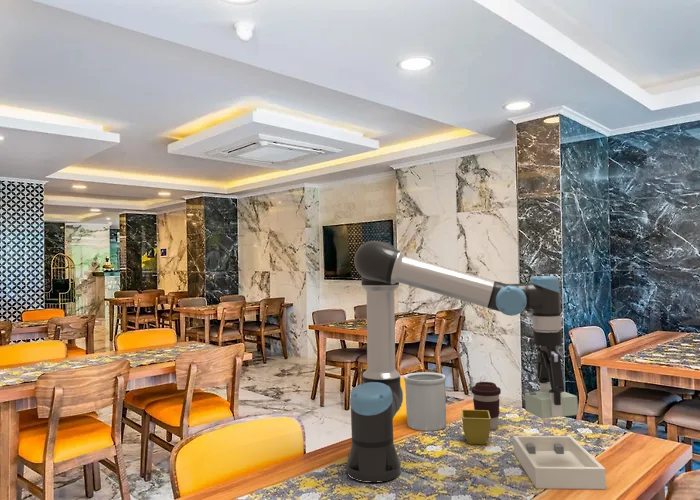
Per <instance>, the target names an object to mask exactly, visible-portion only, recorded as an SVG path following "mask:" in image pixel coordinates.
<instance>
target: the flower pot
mask: <svg viewBox="0 0 700 500" xmlns="http://www.w3.org/2000/svg"><path fill="white" fill-rule="evenodd" d="M461 421H462V429H463V434H464V437H465V439H466V441H467V443H468V444H469V445H486V444H487V442H488V440H489V438H490V434H491V433H490V432H491V430H490V421H491V418H490V414H489V411H488V410H474V409H461Z"/></svg>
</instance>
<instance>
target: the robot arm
mask: <svg viewBox="0 0 700 500" xmlns="http://www.w3.org/2000/svg"><path fill="white" fill-rule="evenodd" d="M353 261H354V263H353V264H354V266H355V267H354V268H355V270H356V272H357V273H358V274H359V275H360V276H361V287H362V288H363V289H364V290H365V292H366V347H367V348H366V358H367V361H366V362H367V363H366V364H367V365H366V366H367V368H366V369H365V370H364V372H363V373H362V384H358V385H356V386H355V387H353V388H352V390H351V391H350V399H349V404H350V424H351V425H350V426H351V447H350V449H349V453H348V457H347V460H346V465H345V467H346V471H347V472H346V474H347V473H348V474H349V475H350V476H351V477H353V478H355V479H358V480H362V481H371V482H377V481H387V480H390V481H392V480H391V479H393V478H395V479H397V478H398V477H399V476H400V475H401V472H402V470H401V469H402V466H401V461H400V458H399V455H398V453H397V450H396V446H395V444H394V442H395V441H394V418H395V416H396V414H397V413H398V412H399V410H400V409H401V407H402V404H403V400H404V393H403V388H402V386H401V373H400V372H399V371H398V370H397V369H396V330H395V329H396V327H395V326H396V325H395V324H396V323H395V322H396V321H395V320H396V317H395V314H396V313H395V312H396V311H395V291H396V289H397V288H398V287H399V286H400V284H403V285H405V286H406V285H407V286H410V287H413V288H416V289H417V288H418V289H420V290H424V291H428V292H431V293H435V294H437V295H442V296H444V297H448V298H452V299H456V300H458V301H463V302H465V303H469V304H473V305H477V306H480V307H484V308H487V309H490V310H491V311H497V312H500V313H502V314H503V315H506V316H510V317H511V316H512V317H513V316H516V315H519V314H521V313H522V312H523V311H524V310H527V311H529V310H531V314H532V315H531V317H532V318H531V319H532V329H533V330H534V331H533V332H532V333H533V334H532V336H533V337H532V338H533V344H534V345H536V350H537V351H536V353H537V354H536V355H537V362H536V363H537V364H536V366H537V367H536V379H538V382H539V392H541V391H549V393H550V398H551V416H552V417H554V418H563V417H564V416H563V414H562V394H561V393H562V392H565V385H564V377H563V376H564V375H563V368H562V359H561V358H562V356H561V354H560V353H559V352H557V348H556V347H558V346H562V344H563V332H562V331H561V329H562V322H563V321H564V319H563V318H562V314H561V310H562V308H561V291H560V282H559V278H558V277H557V276H555V275H536V276H535V275H534V276H531V277H530V281H529V282H525V283H504V282H500V281H496V280H493V279H490V278H487V277H486V278H485V277H483V276H479V275H475V274H471V273H467V272H464V271H462V270H461V271H460V270H456V269H453V268H450V267H445V266H443V265H438V264H435V263H431V262H427V261H424V260H421V259H417V258H414V257H409V256H406V255H405V254H404V252H403V251H401V250H398V249H397V248H396V247H395V246H394V245H392V244H391V243H388V242H386V241H378V240H369V241H367V242H365V243H363V244H361V245H360V246H359V247H358V249H357V250H356V252H355V254H354V260H353ZM397 476H398V477H397ZM396 477H397V478H396ZM393 480H394V479H393ZM387 482H388V481H387Z"/></svg>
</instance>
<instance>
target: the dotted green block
mask: <svg viewBox="0 0 700 500" xmlns="http://www.w3.org/2000/svg"><path fill="white" fill-rule="evenodd" d="M561 394H562V414H563V417H567V416H571V417H572V416H577V415H579V408H578V407H579V406H578V395H575V394H572V393H569V392H567V391H564V392H562V393H561ZM524 401H525V411H526V412H528V413H529V414H531V415H534V416H535V417H538V418H540V419H542V420H544V419H552V418H555V417H552V416H551V398H550V393H549V391H541V392H540V391H533V392H525V393H524Z"/></svg>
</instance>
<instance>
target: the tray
mask: <svg viewBox="0 0 700 500" xmlns="http://www.w3.org/2000/svg"><path fill="white" fill-rule="evenodd" d="M512 442H513V443H512V444H513V445H512V446H513V454H514V455H515V457H516V459H517V460H518V462H519V464H520V466H521V467H522V468H523V470H524V471H525V473H526V475H527V477H528V478H529V480H530V481H531V483H532V484H533V486H534V488H535V489H558V490H559V489H561V490H562V489H564V490H566V489H567V490H569V489H570V490H572V489H573V490H574V489H575V490H607V479H606V478H607V477H606V468H605V467H604V466H603V465H602V464H601V463H600V462H599V461H598V460H597V459H596V458H595V457H594V456H593V455H592V454H591V453H589V452H588V450H586V448H584V446H582V444H581V443H579V442H578V441H577V440H576V439H575V438H574V437H573V436H572V435H513V436H512Z"/></svg>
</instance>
